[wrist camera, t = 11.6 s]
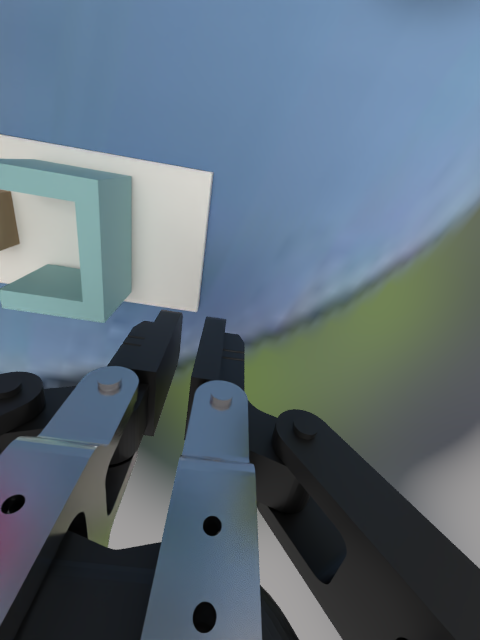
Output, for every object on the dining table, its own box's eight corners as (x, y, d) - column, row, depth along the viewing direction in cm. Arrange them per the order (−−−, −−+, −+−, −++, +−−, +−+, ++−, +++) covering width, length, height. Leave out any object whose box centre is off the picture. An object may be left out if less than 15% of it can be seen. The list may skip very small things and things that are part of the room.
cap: (49, 279, 23) (2, 308, 18) (34, 159, 19) (-30, 158, 15) (131, 291, 23) (104, 322, 19) (131, 176, 19) (97, 180, 15)
